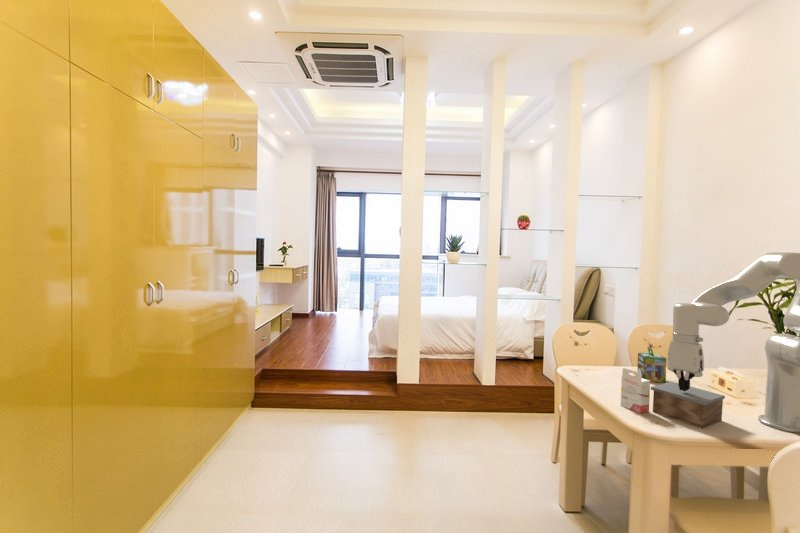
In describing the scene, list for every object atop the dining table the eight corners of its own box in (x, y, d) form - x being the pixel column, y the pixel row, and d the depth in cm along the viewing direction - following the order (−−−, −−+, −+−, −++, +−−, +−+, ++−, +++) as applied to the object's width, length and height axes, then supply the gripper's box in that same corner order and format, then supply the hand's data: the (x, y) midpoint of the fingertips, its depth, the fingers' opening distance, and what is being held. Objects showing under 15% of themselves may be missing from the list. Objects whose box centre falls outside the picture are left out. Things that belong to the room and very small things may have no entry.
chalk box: (666, 383, 184) (667, 351, 183) (643, 381, 186) (645, 349, 185) (657, 377, 193) (659, 346, 192) (636, 375, 195) (637, 345, 194)
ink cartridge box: (649, 412, 149) (651, 372, 149) (640, 413, 147) (642, 373, 147) (628, 403, 157) (630, 366, 157) (619, 405, 155) (621, 367, 155)
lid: (724, 398, 142) (724, 395, 142) (704, 405, 134) (704, 402, 134) (671, 384, 157) (672, 381, 157) (650, 389, 149) (651, 386, 149)
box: (721, 420, 143) (722, 398, 143) (702, 428, 136) (703, 405, 135) (672, 405, 157) (673, 384, 156) (652, 411, 149) (653, 390, 149)
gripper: (715, 341, 139) (713, 394, 139) (668, 333, 151) (666, 382, 152) (704, 343, 135) (703, 398, 135) (657, 335, 148) (656, 385, 148)
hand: (684, 389), depth 144 cm, fingers closed
